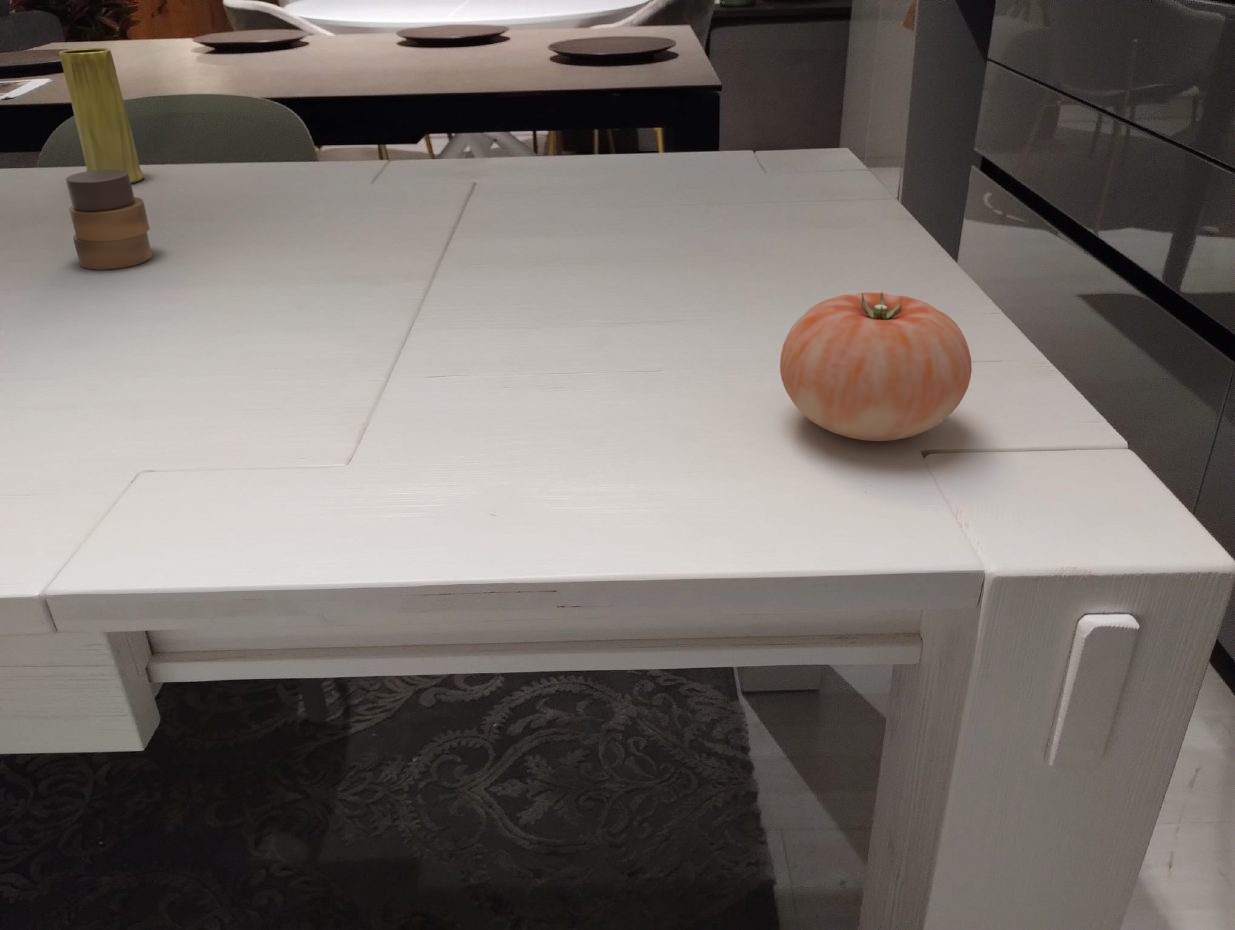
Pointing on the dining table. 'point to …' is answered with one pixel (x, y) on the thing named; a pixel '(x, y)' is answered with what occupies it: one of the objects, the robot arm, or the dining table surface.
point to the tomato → (875, 366)
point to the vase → (100, 111)
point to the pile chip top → (110, 223)
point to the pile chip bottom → (113, 252)
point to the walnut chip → (100, 190)
